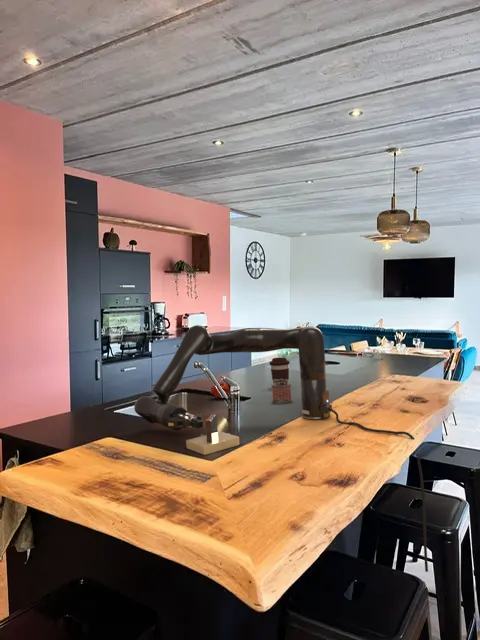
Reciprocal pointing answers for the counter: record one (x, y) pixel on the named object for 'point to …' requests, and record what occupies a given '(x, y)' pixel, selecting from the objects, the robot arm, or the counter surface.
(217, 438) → the beige square slab
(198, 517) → the counter surface
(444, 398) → the counter surface
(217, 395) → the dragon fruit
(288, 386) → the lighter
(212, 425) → the dark brown block
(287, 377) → the coffee cup
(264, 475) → the counter surface
